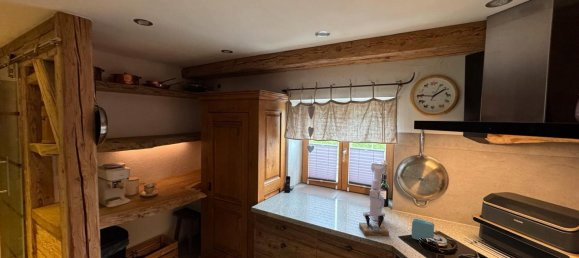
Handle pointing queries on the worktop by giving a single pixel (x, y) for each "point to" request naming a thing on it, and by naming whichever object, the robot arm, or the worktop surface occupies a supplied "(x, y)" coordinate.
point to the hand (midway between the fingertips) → (373, 226)
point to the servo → (373, 226)
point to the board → (370, 232)
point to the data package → (422, 229)
